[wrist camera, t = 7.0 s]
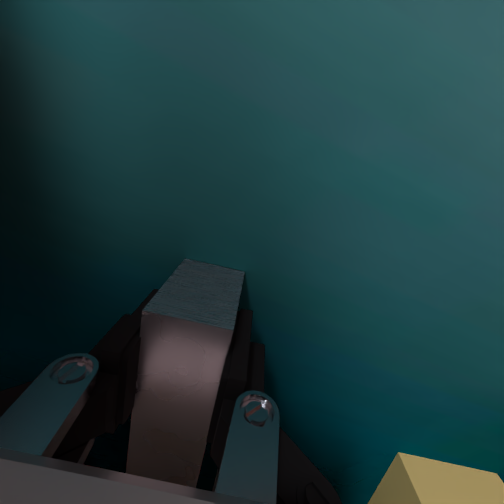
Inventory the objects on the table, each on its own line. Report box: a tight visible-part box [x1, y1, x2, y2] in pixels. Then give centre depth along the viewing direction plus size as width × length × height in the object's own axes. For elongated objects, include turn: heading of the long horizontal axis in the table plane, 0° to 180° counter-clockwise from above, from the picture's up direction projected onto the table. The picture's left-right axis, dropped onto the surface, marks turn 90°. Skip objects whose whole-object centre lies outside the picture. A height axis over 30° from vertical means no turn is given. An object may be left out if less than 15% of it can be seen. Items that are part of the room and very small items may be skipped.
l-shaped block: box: [126, 258, 245, 488], centre depth 13 cm, size 19×12×4 cm, turn 167°
